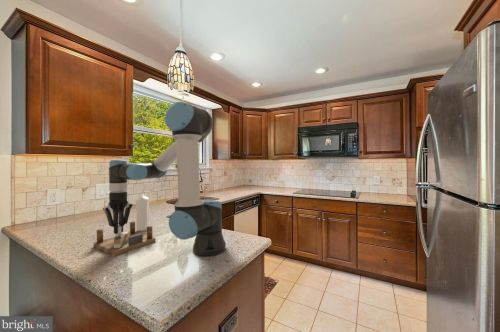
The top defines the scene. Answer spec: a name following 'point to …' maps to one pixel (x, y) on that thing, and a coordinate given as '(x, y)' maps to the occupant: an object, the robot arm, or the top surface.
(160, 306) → the top surface
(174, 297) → the top surface
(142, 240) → the wooden peg board
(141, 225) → the milk
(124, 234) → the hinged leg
